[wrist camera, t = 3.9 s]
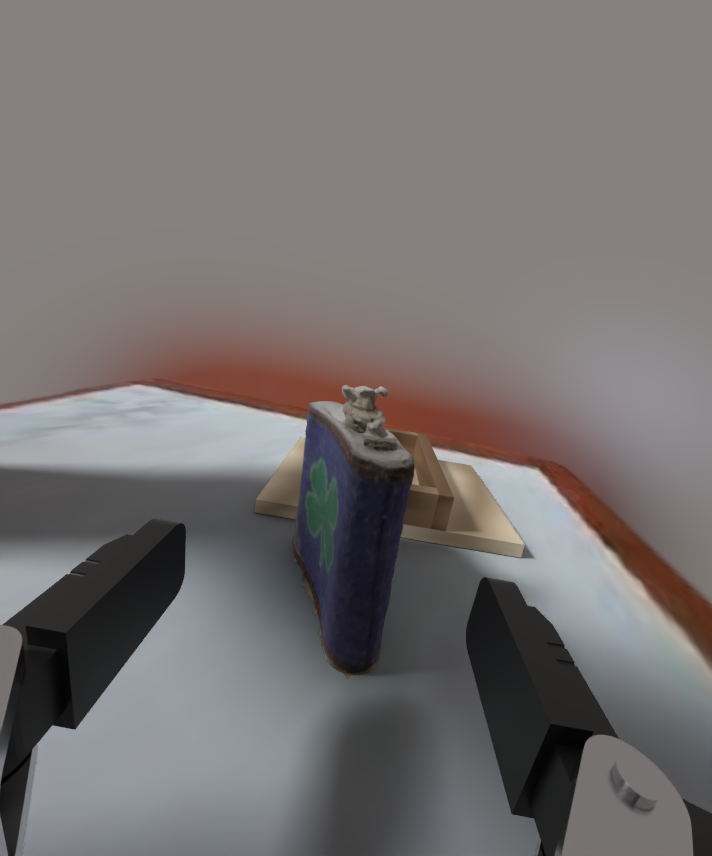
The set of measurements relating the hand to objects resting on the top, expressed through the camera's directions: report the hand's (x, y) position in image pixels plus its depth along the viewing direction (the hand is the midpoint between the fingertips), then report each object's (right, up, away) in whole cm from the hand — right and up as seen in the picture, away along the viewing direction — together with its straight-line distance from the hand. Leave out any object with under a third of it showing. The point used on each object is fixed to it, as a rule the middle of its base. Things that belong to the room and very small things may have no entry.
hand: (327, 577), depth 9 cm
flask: (-1, -5, +9) cm, 10 cm away
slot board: (+3, -1, +21) cm, 21 cm away
